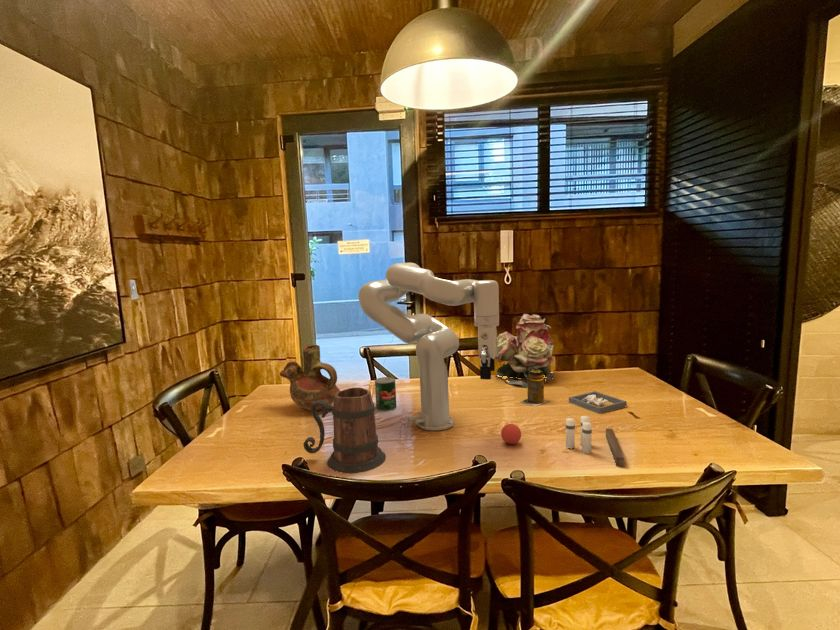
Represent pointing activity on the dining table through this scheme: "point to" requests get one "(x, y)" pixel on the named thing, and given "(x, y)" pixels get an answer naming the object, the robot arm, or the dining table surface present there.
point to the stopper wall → (615, 447)
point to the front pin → (570, 433)
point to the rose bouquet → (525, 350)
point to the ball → (511, 433)
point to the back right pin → (586, 437)
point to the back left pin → (583, 419)
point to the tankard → (350, 432)
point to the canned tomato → (385, 393)
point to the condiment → (535, 388)
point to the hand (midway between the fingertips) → (487, 374)
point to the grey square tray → (577, 401)
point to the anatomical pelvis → (594, 400)
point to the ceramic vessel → (311, 380)
